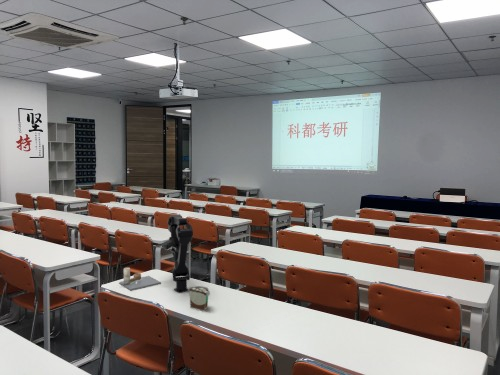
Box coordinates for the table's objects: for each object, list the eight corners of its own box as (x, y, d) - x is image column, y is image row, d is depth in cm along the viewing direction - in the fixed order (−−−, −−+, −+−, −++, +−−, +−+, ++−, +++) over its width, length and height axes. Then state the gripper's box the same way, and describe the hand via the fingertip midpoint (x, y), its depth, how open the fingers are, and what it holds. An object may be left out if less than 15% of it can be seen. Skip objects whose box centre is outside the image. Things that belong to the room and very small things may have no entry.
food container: (214, 307, 196) (214, 288, 195) (207, 312, 191) (207, 292, 190) (196, 302, 202) (196, 284, 201) (188, 306, 197) (188, 287, 196)
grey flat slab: (160, 283, 231) (160, 282, 231) (130, 290, 219) (130, 289, 218) (148, 277, 243) (148, 275, 243) (119, 283, 231) (119, 281, 231)
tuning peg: (136, 277, 238) (136, 263, 238) (142, 278, 236) (142, 264, 236) (121, 283, 226) (121, 268, 226) (127, 284, 225) (127, 269, 224)
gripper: (156, 234, 235) (156, 259, 236) (171, 240, 221) (171, 266, 222) (172, 232, 242) (172, 256, 243) (188, 237, 228) (188, 263, 229)
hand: (175, 260), depth 234 cm, fingers closed
